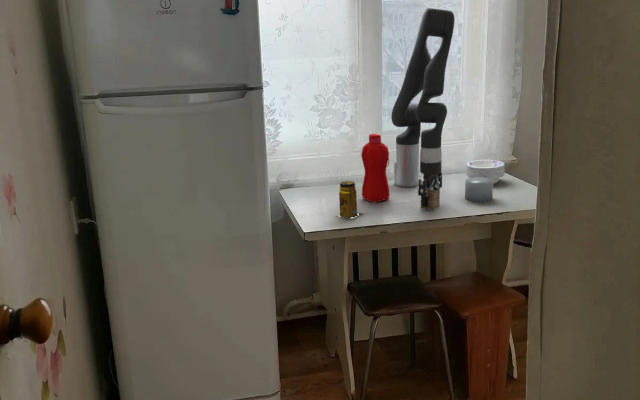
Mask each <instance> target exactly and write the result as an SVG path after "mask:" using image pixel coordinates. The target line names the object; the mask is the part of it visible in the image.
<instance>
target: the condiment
mask: <svg viewBox="0 0 640 400" xmlns="http://www.w3.org/2000/svg"><path fill="white" fill-rule="evenodd" d="M338 191H339V192H338V198H339V214H340V216H341V217H344V218H343V219H345V218H351V217H355V216H358V215H357V213H359V216H358V217H360V216H363V215H364V214H365V215H366V212H361V211H360V212H359V211H358V203H357V202H358V201H357V200H358V199H357V197H358V196H357V195H358V194H357V189H356V183H355V182H354V181H349V180H346V181H341V182H340V183H339V190H338Z"/></svg>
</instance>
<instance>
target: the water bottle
mask: <svg viewBox="0 0 640 400" xmlns="http://www.w3.org/2000/svg"><path fill="white" fill-rule="evenodd" d="M360 155H361V161H362V164H363V168H364V176H363V182H362V186H361V187H362V189H361V197H362V199H364V200H366V201H369V202H370V203H378V202H379V203H380V202H382V201H387V200H389V198H390V186H389V182H388V176H387V167H388V166H390V157H389V156H390V152H389V148H388V146H387V145H385V143H383V142H382V136H381V134H377V133H371V134H368V142H367V143H365V145H364V146H362V150H361V154H360Z"/></svg>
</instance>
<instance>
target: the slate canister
mask: <svg viewBox="0 0 640 400" xmlns="http://www.w3.org/2000/svg"><path fill="white" fill-rule="evenodd" d="M493 196H494V184H493V180H491V179H488V178H480V177H476V178H470V177H468V178H467V179H465V183H464V200H465V201H468V202H470V203H471V202H472V203H476V204H478V203H479V204H480V203H481V204H482V203H489V202H491V201H493Z"/></svg>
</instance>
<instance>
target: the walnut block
mask: <svg viewBox="0 0 640 400" xmlns="http://www.w3.org/2000/svg"><path fill="white" fill-rule="evenodd" d="M426 192H427V191H426ZM440 192H441V189H440V190H433V189H431V191H430V192H429V195H428V206H427V207H423V206H422V196H420V209H426V210H431V211H434V210H436V209H438V208H439V207H440V205H441V203H440V200H441V197H440V196H441V195H440V194H441V193H440Z"/></svg>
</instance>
